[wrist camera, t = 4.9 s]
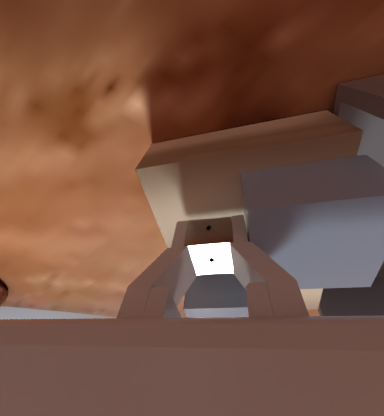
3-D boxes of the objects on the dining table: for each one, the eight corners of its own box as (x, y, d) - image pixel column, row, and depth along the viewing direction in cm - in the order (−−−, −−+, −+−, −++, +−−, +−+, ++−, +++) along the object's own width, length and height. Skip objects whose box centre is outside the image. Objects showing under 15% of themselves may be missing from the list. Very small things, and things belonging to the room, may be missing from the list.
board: (151, 143, 11) (135, 169, 9) (326, 110, 10) (363, 130, 7) (196, 277, 18) (194, 312, 16) (303, 271, 17) (317, 309, 14)
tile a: (240, 172, 9) (247, 209, 7) (366, 154, 8) (418, 191, 6) (246, 247, 11) (253, 290, 9) (340, 240, 10) (370, 286, 8)
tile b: (188, 268, 13) (183, 308, 11) (266, 262, 12) (277, 306, 10) (202, 306, 15) (200, 345, 13) (267, 305, 14) (275, 346, 12)
